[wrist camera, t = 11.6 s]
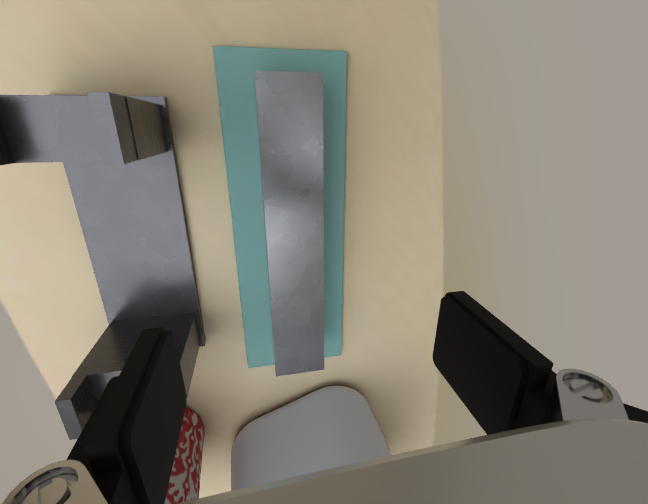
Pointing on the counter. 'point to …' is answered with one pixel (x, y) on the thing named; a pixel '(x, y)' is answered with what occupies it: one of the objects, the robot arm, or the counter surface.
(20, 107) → the brackets
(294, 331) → the rail
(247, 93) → the mat
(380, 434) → the plastic bottle
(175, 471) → the mug
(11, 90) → the counter surface
